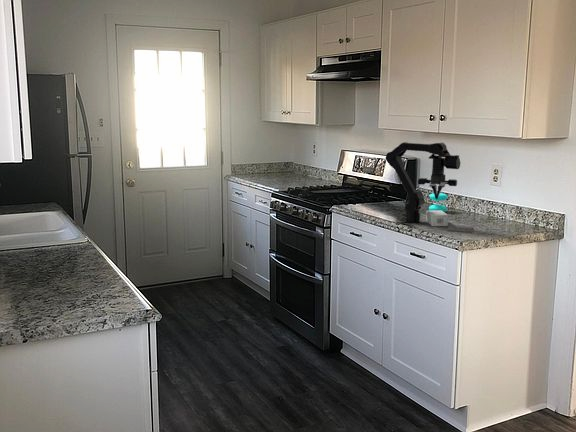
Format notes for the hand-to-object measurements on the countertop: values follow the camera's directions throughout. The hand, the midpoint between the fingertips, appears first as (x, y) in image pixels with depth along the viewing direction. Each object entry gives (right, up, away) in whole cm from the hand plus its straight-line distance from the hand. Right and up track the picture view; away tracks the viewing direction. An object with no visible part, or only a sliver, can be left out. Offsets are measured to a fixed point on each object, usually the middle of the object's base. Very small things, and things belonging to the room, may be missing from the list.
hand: (436, 199), depth 302 cm
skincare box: (+1, -11, -4) cm, 12 cm away
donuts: (+11, -6, +41) cm, 43 cm away
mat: (+9, -15, -10) cm, 20 cm away
